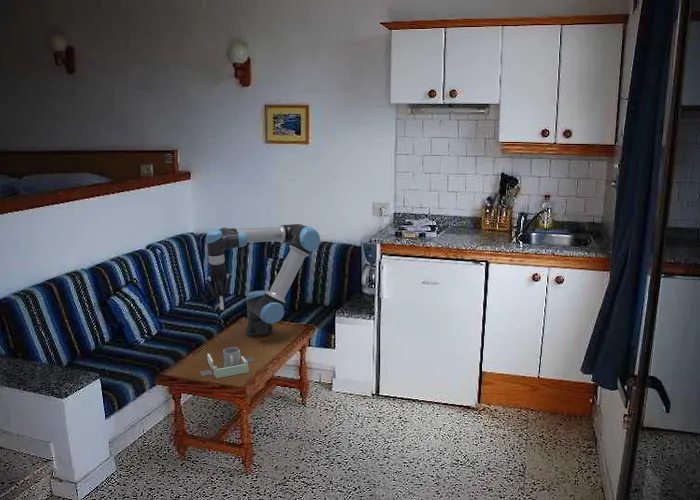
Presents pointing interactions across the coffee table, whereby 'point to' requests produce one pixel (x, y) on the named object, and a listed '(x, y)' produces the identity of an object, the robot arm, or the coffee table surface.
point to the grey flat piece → (228, 368)
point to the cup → (231, 357)
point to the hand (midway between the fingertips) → (221, 308)
